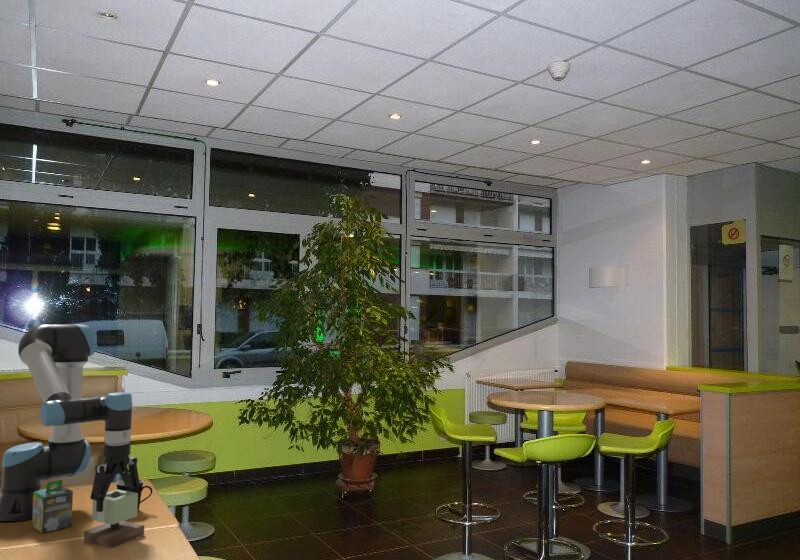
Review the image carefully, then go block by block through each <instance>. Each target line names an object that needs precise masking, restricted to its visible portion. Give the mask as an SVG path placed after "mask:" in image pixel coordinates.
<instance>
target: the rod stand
mask: <svg viewBox="0 0 800 560" xmlns="http://www.w3.org/2000/svg"><path fill="white" fill-rule="evenodd" d="M113 491H114V490H113ZM117 497H120V493H119V492H118V491H114V492H113V493H112V498H117ZM143 534H144V535H145V525H144V524H139V523H134V522H130V521H127V520H125V521H122V522H119V523H116V524H108V523H102V524H101V525H98V526H95V527H91V528H89V529H85V530H84V531H83V542H86V543H90V544H95V545H99V546H104V547H107V548H115V547H117V546H120V545H122V544H125V543H127V542H130V541H132V540H135V539H138V538H140V537H139V536H141V535H143ZM144 535H143V536H144ZM137 537H138V538H137ZM141 537H142V536H141Z"/></svg>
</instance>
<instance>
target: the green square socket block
mask: <svg viewBox="0 0 800 560" xmlns="http://www.w3.org/2000/svg"><path fill="white" fill-rule="evenodd" d="M114 491H118V492H119V493H120V497H117V498H112V493H113V492H114ZM104 500H107V504H106V522H105V523H104V524H106V523H108V524H116V523H119V522H122V521H127V520H131V519H133V518H136V517H138V512H137V507H138V493H134V492H129V491H123V490H117V489H115V490H111V491H107V494H106V496H105V499H104ZM91 510H92V513H91V514H92V516H91V521H95V522H98V512H97V511H96V500H92V509H91Z"/></svg>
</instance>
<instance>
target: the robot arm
mask: <svg viewBox="0 0 800 560" xmlns="http://www.w3.org/2000/svg"><path fill="white" fill-rule="evenodd" d="M94 335H95V334H94V333H93V330H92V328H91V327H89V325H86V324H79V323H67V324H66V323H65V324H62V323H61V324H58V323H57V324H53V323H52V324H48V323H47V324H46V323H45V324H40V325H36V326H34V327H32V328H30V329H29V330H27V331H26V332H25V333H24V334H23V335H22V337H21V338H20V341H19V343H18V348H17V350H18V351H17V352H18V356H19V359H20V361H21V362H22V364H24V365H25V366H27V368H28V370H29V373H30V375H31V376H32V380H33V382H34V384H35V386H36V389H37V390H38V393H39V395H40V398H41V399H42V404H41V405H40V409H39V417H40V422H41V424H42V425H43V426H45V427H52V426H53V432H52V435H51V436H50V437H49V438H48V440H47V445H44V444H43V443H42V442H38V441H36V442H27V443H24V444H23V443H22V444H18V445H15V446H12V447H10V448H8V449H6V451H4V453H3V458H2V463H1V466H2V473H1V494H0V521H17V522H23V521H29V520H32V516H33V492H35V491H39V490H42V483H43V481H47V480H48V481H49V480H54V479H55V480H56V479H61V478H67V477H68V478H69V477H73V476H77V475H81V474H83V473H85V471H86V469H87V468H88V467H89V465H90V461H91V455H92V454H91V453H92V452H91V451H92V450H91V445H90V443H89V441H87V440H86V439H85V435H83V434H82V433H81V427H82V426H81V424H83V423H91V422H92V423H93V422H94V423H95V422H101V421H103V422H104V439H103V441H104V443H105V444H104V445H103V457H104V463H103V464H100V465H98V464H97V465H95V467H94V469H95V474H94V478H93V484H92V489H91V494H90V497H89V499H90V500H92V501H93V500H96V511H97V512H98V521H97V523H102V524H106V523H105V522H106V504H107V500H104V499H105V496H106V494H107V492H109V489H110V486H111V483H112V481H113V479H115V477H116V476H117V475H120V477H121V480H123V482H124V484H125V486H126V489H127V490H128V491H129V492H136V491H137V489H136V488H139V487H140V483H139V479H140V477H139V472H138V470H139V469H138V465H137V464H138V458H137V457H132V456H130V455H131V443H130V442H131V441H132V440H131V439H132V418H133V417H132V414H133V413H132V412H133V397H132V393H130V392H124V391H120V392H119V391H118V392H110V393H107V394H106V395H96V396H93V397H84V398H82V397H83V375H84V366H85V365H87V363H88V362H89V357H92V356H93V355H94V353H95V350H96V340H95V336H94Z"/></svg>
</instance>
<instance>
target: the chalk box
mask: <svg viewBox="0 0 800 560" xmlns="http://www.w3.org/2000/svg"><path fill="white" fill-rule="evenodd" d="M53 485H57V486H54V487H52V486H53ZM73 494H74V491H73V490H71V489H69V488H67V487H65V486H63V480H62V479H59V480H52V481H48V482H47V483H46V488H44V489H41V490H39V491H35V492H33V516H32V519H31V520H32V523H31V524H32V525H31V526H32V527H31V528H34V529H35V530H36V531H38V532H40V533H42V534H45V533H50V532H53V531H57V530H62V529H68V528H71V527H72V526H73V525H72V524H73V523H72V521H73V498H74V497H73V496H74V495H73Z"/></svg>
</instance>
